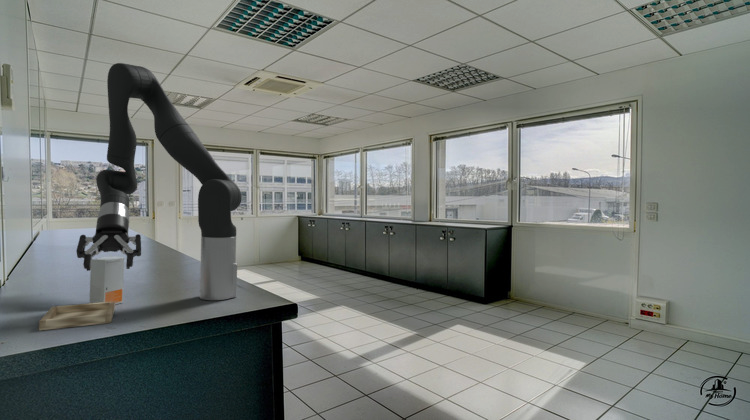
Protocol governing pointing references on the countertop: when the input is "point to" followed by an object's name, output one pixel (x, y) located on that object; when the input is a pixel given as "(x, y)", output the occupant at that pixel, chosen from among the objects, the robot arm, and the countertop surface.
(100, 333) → the countertop surface
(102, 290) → the skincare box
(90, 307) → the holder
